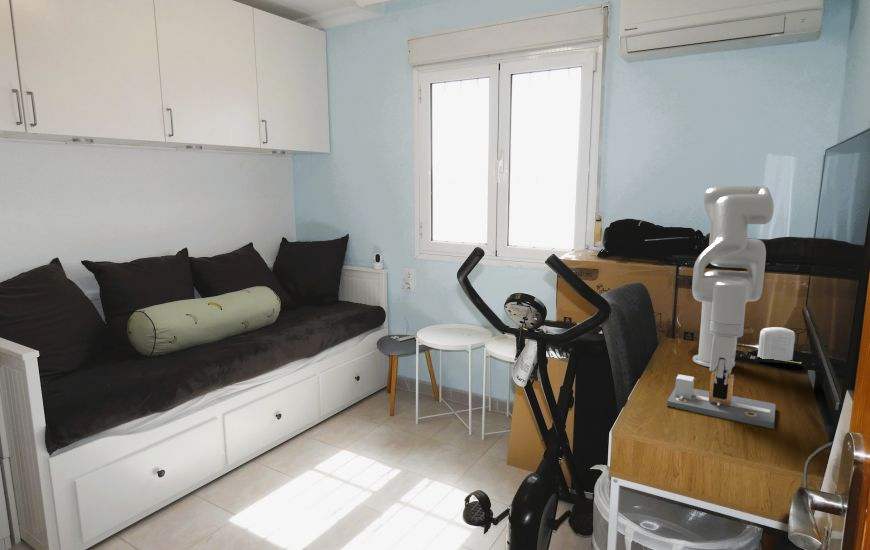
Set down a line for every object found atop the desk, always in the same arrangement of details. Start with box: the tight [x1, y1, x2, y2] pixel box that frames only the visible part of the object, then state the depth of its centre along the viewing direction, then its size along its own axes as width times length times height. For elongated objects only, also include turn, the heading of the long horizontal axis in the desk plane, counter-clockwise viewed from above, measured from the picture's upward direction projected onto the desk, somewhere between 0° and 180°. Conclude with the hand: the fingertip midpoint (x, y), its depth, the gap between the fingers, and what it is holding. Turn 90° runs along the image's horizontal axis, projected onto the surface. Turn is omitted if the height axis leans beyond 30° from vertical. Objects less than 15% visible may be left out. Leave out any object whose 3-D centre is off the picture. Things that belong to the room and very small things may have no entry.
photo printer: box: [757, 326, 796, 361], centre depth 172 cm, size 10×4×12 cm, turn 81°
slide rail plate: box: [666, 374, 776, 430], centre depth 136 cm, size 14×24×6 cm, turn 56°
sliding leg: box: [708, 370, 735, 406], centre depth 134 cm, size 7×5×7 cm
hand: (720, 394), depth 136 cm, fingers closed on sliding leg, 4 cm apart
